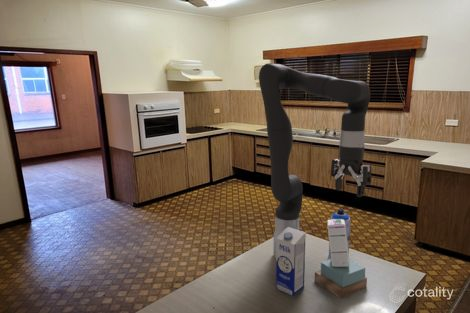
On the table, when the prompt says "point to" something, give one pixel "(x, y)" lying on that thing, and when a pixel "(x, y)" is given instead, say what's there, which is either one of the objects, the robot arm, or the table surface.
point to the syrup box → (338, 243)
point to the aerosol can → (342, 215)
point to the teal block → (343, 273)
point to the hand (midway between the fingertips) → (349, 193)
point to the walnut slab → (338, 289)
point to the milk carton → (290, 261)
